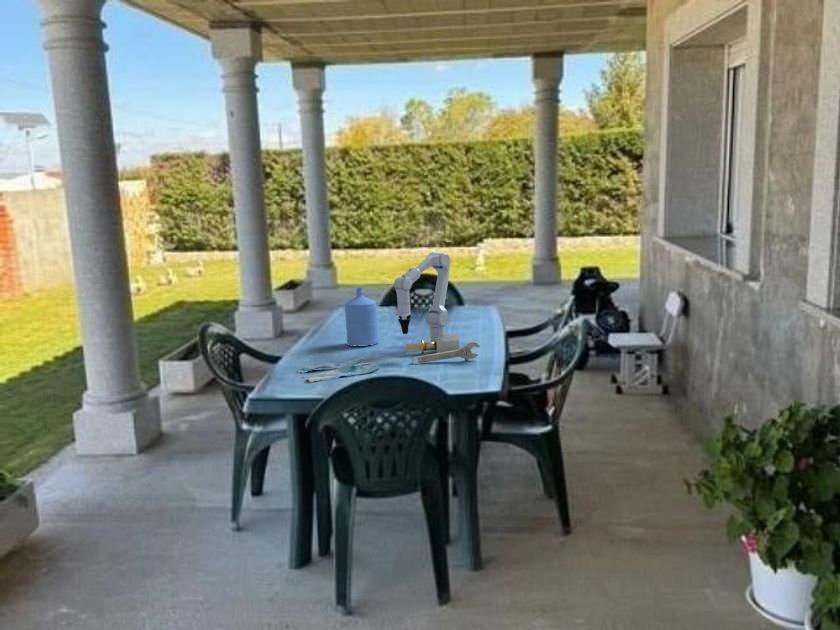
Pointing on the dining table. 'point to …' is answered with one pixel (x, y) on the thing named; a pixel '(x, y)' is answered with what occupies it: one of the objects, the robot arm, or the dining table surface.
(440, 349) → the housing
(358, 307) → the water jug
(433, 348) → the gold trophy
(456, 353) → the wrench
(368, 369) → the rubber gloves
